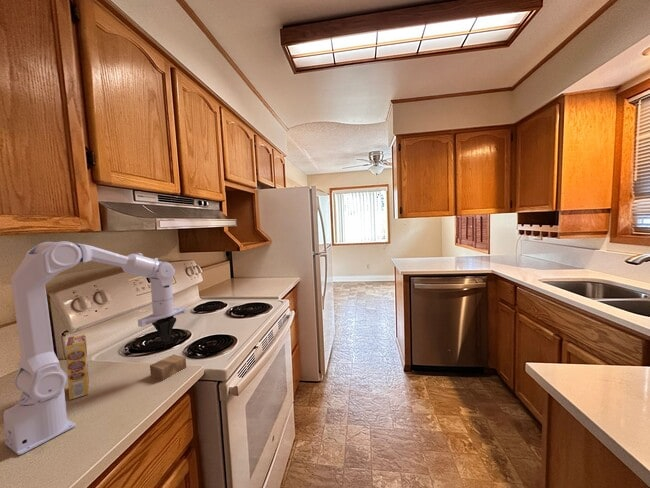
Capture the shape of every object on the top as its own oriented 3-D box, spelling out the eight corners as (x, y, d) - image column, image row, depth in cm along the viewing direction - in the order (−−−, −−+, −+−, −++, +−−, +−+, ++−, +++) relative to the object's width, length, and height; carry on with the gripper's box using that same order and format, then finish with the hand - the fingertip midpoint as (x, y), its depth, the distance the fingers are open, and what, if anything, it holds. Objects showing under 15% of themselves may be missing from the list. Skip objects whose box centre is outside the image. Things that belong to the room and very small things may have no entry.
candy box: (89, 394, 79) (84, 341, 78) (69, 400, 76) (63, 346, 75) (90, 381, 86) (85, 333, 85) (71, 387, 83) (66, 337, 82)
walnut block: (162, 369, 84) (185, 357, 91) (149, 365, 87) (173, 354, 94) (163, 381, 84) (186, 369, 92) (150, 377, 87) (174, 365, 94)
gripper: (175, 293, 96) (178, 331, 97) (130, 304, 83) (134, 348, 84) (189, 294, 93) (192, 334, 93) (144, 306, 80) (148, 352, 80)
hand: (165, 341), depth 88 cm, fingers closed
